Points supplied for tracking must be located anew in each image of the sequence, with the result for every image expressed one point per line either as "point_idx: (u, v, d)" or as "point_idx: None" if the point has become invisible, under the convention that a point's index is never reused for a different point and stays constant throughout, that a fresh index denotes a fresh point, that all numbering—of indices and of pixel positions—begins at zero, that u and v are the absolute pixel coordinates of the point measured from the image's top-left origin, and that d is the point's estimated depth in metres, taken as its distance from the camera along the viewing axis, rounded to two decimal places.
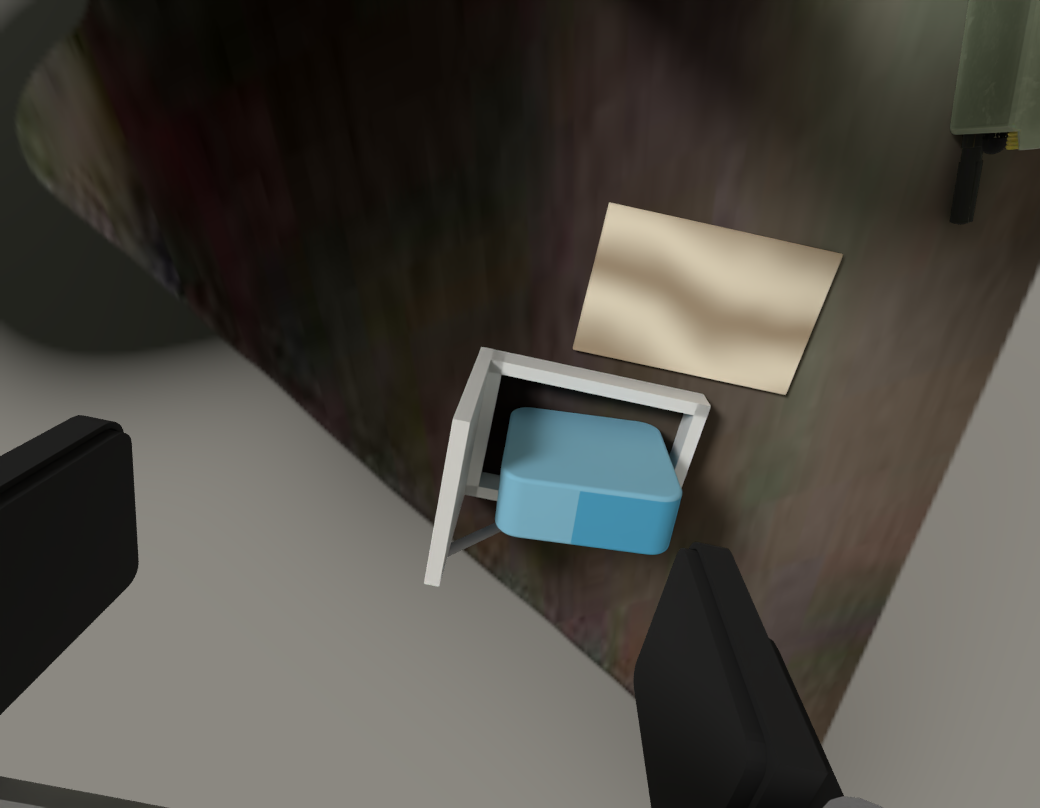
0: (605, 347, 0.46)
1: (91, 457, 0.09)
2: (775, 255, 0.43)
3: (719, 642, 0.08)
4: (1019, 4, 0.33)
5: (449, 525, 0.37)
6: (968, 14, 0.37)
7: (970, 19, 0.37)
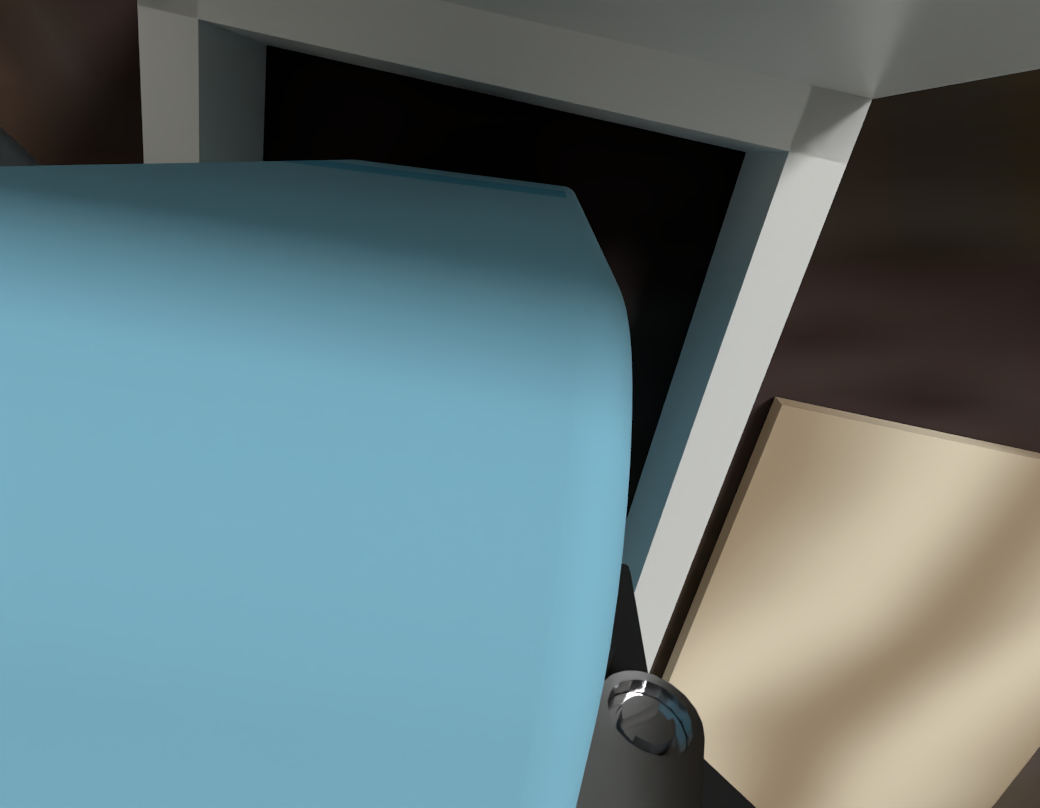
0: (771, 498, 0.15)
1: None
2: None
3: None
4: None
5: None
6: None
7: None
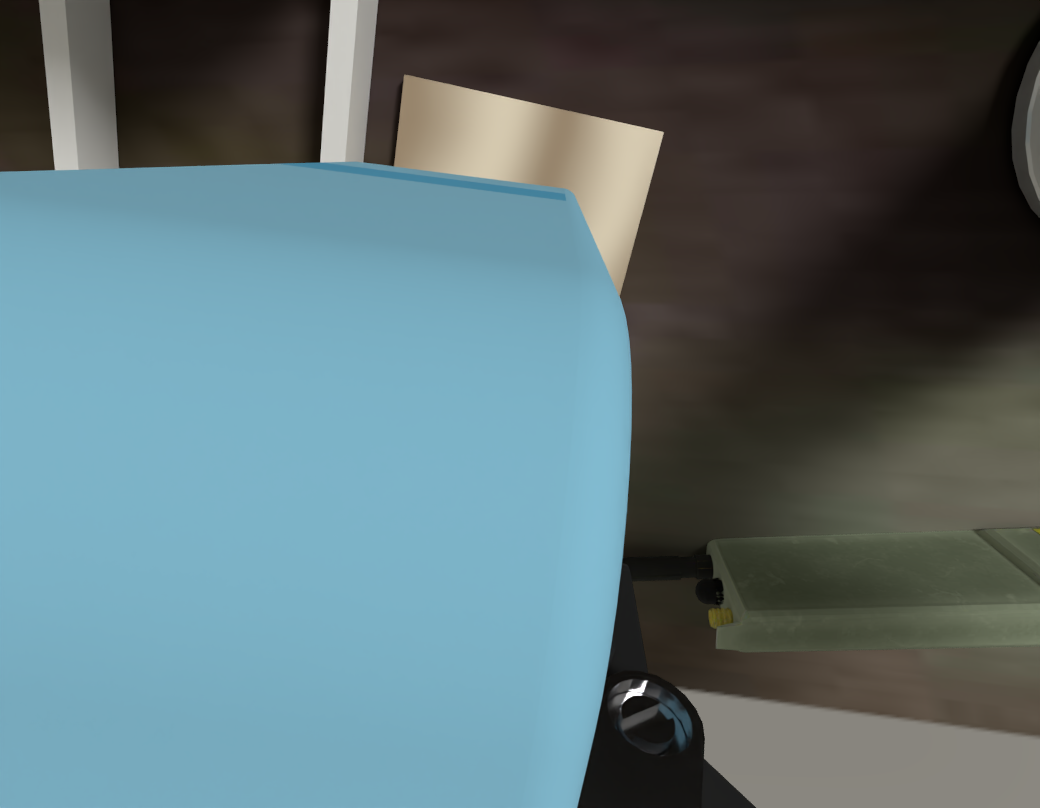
0: (412, 141, 0.26)
1: None
2: None
3: None
4: (874, 594, 0.28)
5: None
6: (836, 536, 0.32)
7: (833, 539, 0.32)
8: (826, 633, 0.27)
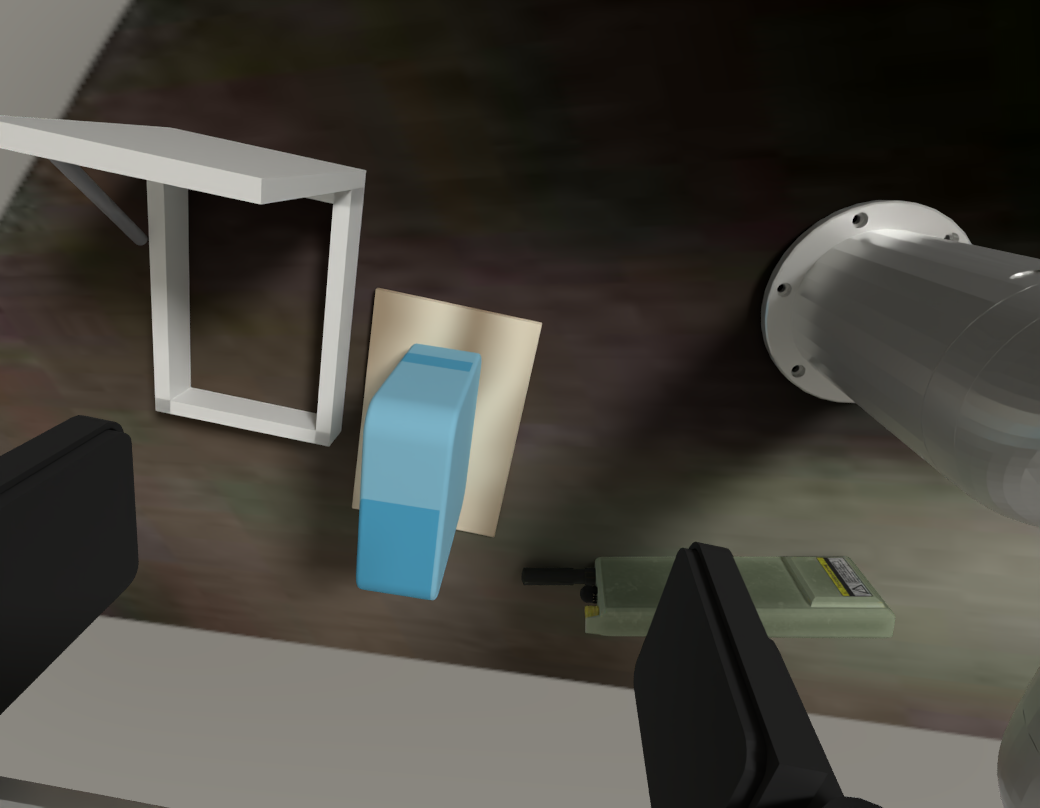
0: (381, 327, 0.40)
1: (91, 457, 0.09)
2: (491, 483, 0.44)
3: (719, 642, 0.08)
4: None
5: (81, 163, 0.24)
6: None
7: None
8: None
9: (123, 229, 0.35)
